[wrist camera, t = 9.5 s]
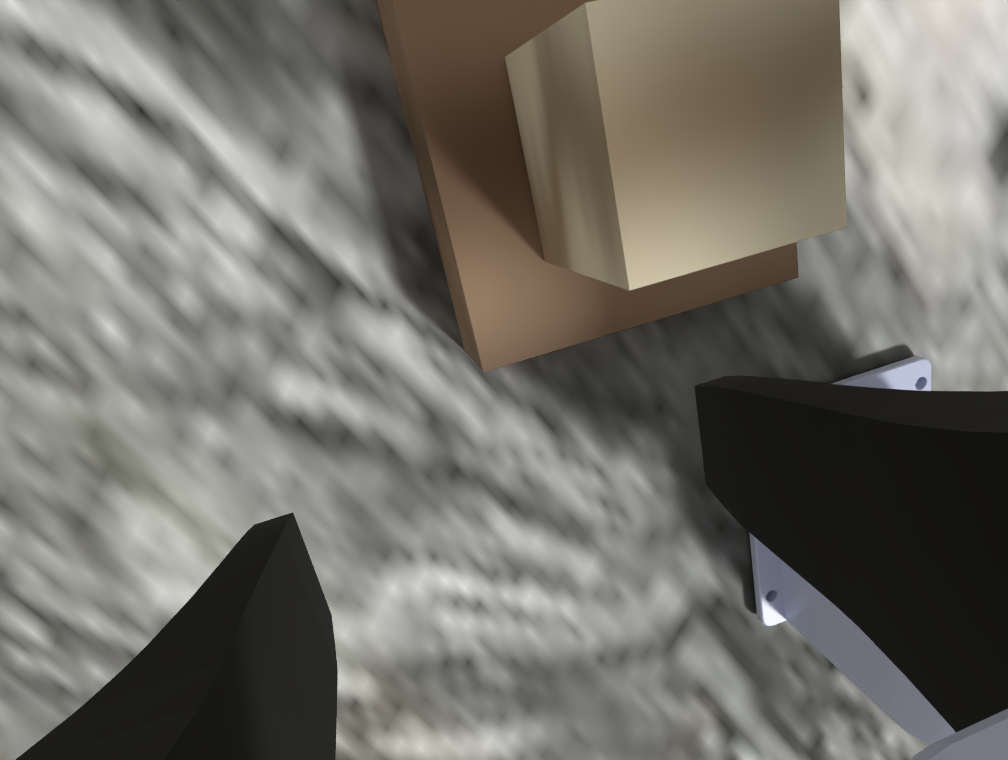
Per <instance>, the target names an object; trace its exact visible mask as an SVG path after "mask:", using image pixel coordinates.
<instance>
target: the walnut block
mask: <svg viewBox="0 0 1008 760" xmlns="http://www.w3.org/2000/svg"><path fill="white" fill-rule="evenodd" d="M592 1H597V0H376V3H377V7H378V11H379V15H380V19H381V23H382V27H383V31H384V35H385V39H386V43H387V46H388V50H389V54H390V58H391V62H392V66H393V70H394V74H395V78H396V82H397V86H398V90H399V94H400V98H401V102H402V106H403V110H404V114H405V118H406V122H407V125H408V129H409V133H410V137H411V141H412V145H413V149H414V153H415V157H416V161H417V165H418V169H419V173H420V177H421V181H422V185H423V189H424V193H425V197H426V201H427V205H428V208H429V212H430V216H431V220H432V224H433V228H434V232H435V236H436V240H437V244H438V248H439V252H440V256H441V260H442V264H443V268H444V272H445V276H446V280H447V284H448V287H449V291H450V295H451V299H452V303H453V307H454V311H455V315H456V319H457V323H458V327H459V331H460V335H461V339H462V343H463V347H464V350H465V351H466V353H467V354H468V355H469V356H470V357H471V358H472V360H473V361H474V362H475V363H476V364H477V365H478V367H479V368H480V369H481V370H482V371H483V372H486V371H489V370H493V369H496V368H499V367H503V366H506V365H509V364H513V363H516V362H519V361H523V360H526V359H529V358H533V357H536V356H539V355H543V354H546V353H549V352H552V351H556V350H559V349H562V348H566V347H569V346H572V345H576V344H579V343H582V342H586V341H589V340H592V339H596V338H599V337H602V336H605V335H609V334H612V333H615V332H619V331H622V330H625V329H629V328H632V327H635V326H639V325H642V324H645V323H649V322H652V321H655V320H659V319H662V318H665V317H668V316H672V315H675V314H678V313H682V312H685V311H688V310H692V309H695V308H698V307H702V306H705V305H708V304H712V303H715V302H718V301H722V300H725V299H728V298H731V297H735V296H738V295H741V294H745V293H748V292H751V291H755V290H758V289H761V288H765V287H768V286H771V285H775V284H778V283H781V282H784V281H788V280H791V279H794V278H798V261H797V245H796V242H795V243H791V244H788V245H785V246H781V247H778V248H774V249H771V250H767V251H764V252H761V253H757V254H754V255H750V256H747V257H743V258H740V259H737V260H733V261H730V262H726V263H723V264H719V265H716V266H712V267H709V268H706V269H702V270H699V271H695V272H692V273H688V274H685V275H682V276H678V277H675V278H671V279H668V280H664V281H661V282H658V283H654V284H651V285H647V286H644V287H640V288H637V289H633V290H630V291H629V290H626V289H623V288H620V287H617V286H614V285H611V284H609V283H606V282H603V281H600V280H597V279H594V278H591V277H588V276H585V275H582V274H579V273H576V272H573V271H570V270H567V269H564V268H561V267H559V266H556V265H553V264H550V263H547V262H545V259H544V254H543V249H542V244H541V239H540V234H539V228H538V223H537V218H536V213H535V208H534V203H533V198H532V193H531V188H530V183H529V178H528V173H527V167H526V162H525V157H524V152H523V147H522V142H521V137H520V132H519V127H518V122H517V117H516V112H515V106H514V101H513V96H512V91H511V86H510V81H509V76H508V71H507V66H506V61H505V57H506V56H507V55H509V54H510V53H511V52H513V51H514V50H516V49H517V48H519V47H520V46H522V45H523V44H525V43H526V42H528V41H529V40H531V39H532V38H534V37H535V36H537V35H538V34H540V33H541V32H543V31H544V30H546V29H547V28H549V27H550V26H552V25H553V24H555V23H556V22H557V21H559V20H560V19H562V18H563V17H565V16H566V15H568V14H569V13H571V12H572V11H574V10H575V9H577V8H578V7H580V6H581V5H583V4H584V3H587V2H592Z"/></svg>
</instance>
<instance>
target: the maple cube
mask: <svg viewBox="0 0 1008 760" xmlns="http://www.w3.org/2000/svg"><path fill="white" fill-rule="evenodd" d="M505 61H506V66H507V71H508V76H509V81H510V86H511V91H512V96H513V101H514V106H515V112H516V117H517V122H518V127H519V132H520V137H521V142H522V147H523V152H524V157H525V162H526V167H527V173H528V178H529V183H530V188H531V193H532V198H533V203H534V208H535V213H536V218H537V223H538V228H539V234H540V239H541V244H542V249H543V254H544V259H545V262H547V263H550V264H553V265H556V266H559V267H561V268H564V269H567V270H570V271H573V272H576V273H579V274H582V275H585V276H588V277H591V278H594V279H597V280H600V281H603V282H606V283H609V284H611V285H614V286H617V287H620V288H623V289H626V290H629V291H630V290H633V289H637V288H640V287H644V286H647V285H651V284H654V283H658V282H661V281H664V280H668V279H671V278H675V277H678V276H682V275H685V274H688V273H692V272H695V271H699V270H702V269H706V268H709V267H712V266H716V265H719V264H723V263H726V262H730V261H733V260H737V259H740V258H743V257H747V256H750V255H754V254H757V253H761V252H764V251H767V250H771V249H774V248H778V247H781V246H785V245H788V244H791V243H795V242H798V241H802V240H805V239H809V238H812V237H816V236H819V235H822V234H826V233H829V232H833V231H836V230H840V229H843V228H846V227H847V221H846V191H845V162H844V132H843V102H842V73H841V43H840V13H839V0H597V1H592V2H587V3H584V4H583V5H581V6H580V7H578V8H577V9H575V10H574V11H572V12H571V13H569V14H568V15H566V16H565V17H563V18H562V19H560V20H559V21H557V22H556V23H555V24H553V25H552V26H550V27H549V28H547V29H546V30H544V31H543V32H541V33H540V34H538V35H537V36H535V37H534V38H532V39H531V40H529V41H528V42H526V43H525V44H523V45H522V46H520V47H519V48H517V49H516V50H514V51H513V52H511V53H510V54H509V55H507V56H506V57H505Z"/></svg>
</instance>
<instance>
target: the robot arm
mask: <svg viewBox="0 0 1008 760" xmlns="http://www.w3.org/2000/svg"><path fill="white" fill-rule="evenodd" d="M917 380H918V381H917ZM916 381H917V383H916ZM695 393H696V402H697V411H698V419H699V428H700V436H701V445H702V453H703V462H704V471H705V479H706V485H707V486H708V488H709V489H710V490H711V491H712V492H713V494H714V495H715V496H716V497H717V498H718V500H719V501H720V502H721V503H722V504H723V506H724V507H725V508H726V509H727V510H728V511H729V512H730V513H731V515H732V516H733V517H734V518H735V519H736V520H737V521H738V522H739V523H740V524H741V525H742V526H743V527H744V528H745V529H746V530H747V531H748V532H749V534H750V545H751V556H752V566H753V577H754V588H755V599H756V609H757V616H758V619H759V620H760V621H761V622H762V623H763V624H764V625H766V626H772V625H776V624H778V623H781V622H783V621H786V620H787V621H788V622H789V623H790V624H791V625H792V626H793V627H795V628H796V629H797V630H798V631H799V632H800V633H801V634H802V635H803V636H804V637H805V638H806V639H807V640H808V641H809V642H810V643H811V644H813V645H814V646H815V647H816V648H817V649H818V650H819V651H820V652H821V653H822V654H823V655H824V656H825V657H826V658H827V659H828V660H829V661H831V662H832V663H833V664H834V665H835V666H836V667H837V668H838V669H839V670H840V671H841V672H842V673H843V674H844V675H845V676H846V677H847V678H849V679H850V680H851V681H852V682H853V683H854V684H855V685H856V686H857V687H858V688H859V689H860V690H861V691H862V692H863V693H864V694H865V695H867V696H868V697H869V698H870V699H871V700H872V701H873V702H874V703H875V704H876V705H877V706H878V707H879V708H880V709H881V710H882V711H883V712H885V713H886V714H887V715H888V716H889V717H890V718H891V719H892V720H893V721H894V722H895V723H897V724H898V725H899V726H900V727H902V728H903V729H904V730H905V731H907V732H908V733H909V734H911V735H912V736H914V737H916V738H917V739H919V740H920V741H922V742H924V743H926V744H928V745H929V746H928V747H926V748H925V749H924V750H922V751H921V752H919V753H918V754H916V755H915V756H914V757H912V758H911V759H909V760H1008V391H996V392H972V391H931V363H930V362H929V360H928V359H926V358H923V357H919V356H913V357H910V358H907V359H904V360H901V361H898V362H895V363H892V364H889V365H886V366H883V367H880V368H877V369H874V370H871V371H868V372H865V373H861V374H858V375H855V376H852V377H849V378H846V379H843V380H840V381H837V382H834V383H831V384H828V383H818V382H809V381H799V380H790V379H780V378H769V377H755V376H725V377H722V378H718V379H715V380H712V381H709V382H706V383H703V384H699V385H696V386H695ZM768 592H769V594H768ZM336 717H337V660H336V650H335V641H334V633H333V624H332V616H331V613H330V610H329V607H328V605H327V602H326V599H325V597H324V594H323V591H322V589H321V586H320V583H319V581H318V578H317V575H316V573H315V570H314V567H313V565H312V562H311V559H310V557H309V554H308V551H307V549H306V546H305V543H304V541H303V538H302V535H301V533H300V530H299V527H298V524H297V522H296V519H295V516H294V514H293V513H290V514H287V515H284V516H280V517H277V518H274V519H271V520H268V521H265V522H261V523H258V524H255V525H254V526H253V527H252V528H251V529H249V530H248V532H247V533H246V534H245V535H244V536H243V537H242V538H241V539H240V541H239V542H238V543H237V544H236V545H235V546H234V548H233V549H232V550H231V551H230V552H229V554H228V555H227V556H226V557H225V558H224V560H223V561H222V562H221V563H220V564H219V566H218V567H217V568H216V569H215V570H214V572H213V573H212V574H211V575H210V576H209V578H208V579H207V580H206V581H205V582H204V583H203V585H202V586H201V587H200V588H199V589H198V591H197V592H196V593H195V594H194V595H193V596H192V598H191V599H190V600H189V601H188V602H187V603H186V604H185V605H184V606H183V607H182V608H181V610H180V611H179V612H178V613H177V614H176V615H175V616H174V617H173V618H172V619H171V620H170V621H169V622H168V624H167V625H166V626H165V627H164V628H163V629H162V630H161V631H160V632H159V633H158V634H157V635H156V636H155V638H154V639H153V640H152V641H151V642H150V643H149V644H148V645H147V646H146V647H145V648H144V649H143V650H142V651H141V652H140V653H139V654H138V655H137V656H136V657H135V658H134V659H133V660H132V661H131V662H130V663H129V664H128V665H127V666H126V667H125V668H124V669H123V670H122V671H121V672H119V673H118V674H117V675H116V676H115V677H114V678H113V679H112V680H111V681H110V682H108V683H107V684H106V685H105V686H104V687H103V688H102V689H101V690H100V691H99V692H97V693H96V694H95V695H94V696H93V697H92V698H91V699H90V700H89V701H87V702H86V703H85V704H84V705H83V706H82V707H80V708H79V709H78V710H77V711H76V712H75V713H74V714H72V715H71V716H70V717H69V718H67V719H66V720H65V721H64V722H62V723H61V724H60V725H59V726H57V727H56V728H55V729H53V730H52V731H51V732H50V733H48V734H47V735H46V736H45V737H43V738H42V739H41V740H40V741H38V742H37V743H36V744H35V745H33V746H32V747H31V748H30V749H28V750H27V751H26V752H25V753H23V754H22V755H21V756H20V757H18V758H17V759H16V760H335V751H336Z"/></svg>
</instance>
